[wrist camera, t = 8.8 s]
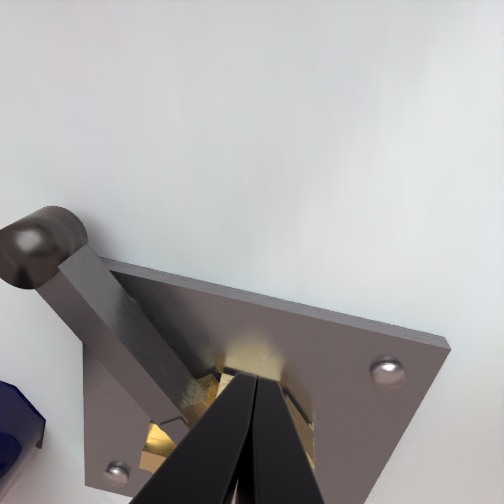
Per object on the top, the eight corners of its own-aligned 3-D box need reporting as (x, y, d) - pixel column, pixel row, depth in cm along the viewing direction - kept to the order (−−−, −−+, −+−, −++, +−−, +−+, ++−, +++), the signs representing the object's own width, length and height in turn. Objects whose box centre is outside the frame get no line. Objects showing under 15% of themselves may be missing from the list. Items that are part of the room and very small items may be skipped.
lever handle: (121, 156, 17) (79, 175, 13) (335, 464, 24) (340, 523, 21) (-17, 247, 20) (-77, 279, 17) (210, 496, 27) (198, 551, 24)
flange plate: (444, 337, 20) (496, 432, 15) (337, 533, 29) (345, 637, 24) (90, 255, 21) (16, 318, 15) (91, 473, 30) (45, 561, 24)
